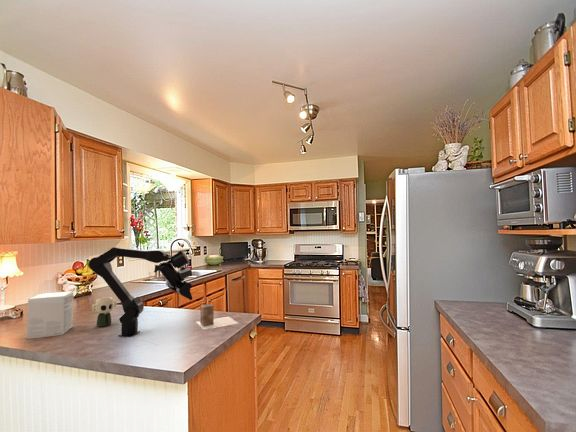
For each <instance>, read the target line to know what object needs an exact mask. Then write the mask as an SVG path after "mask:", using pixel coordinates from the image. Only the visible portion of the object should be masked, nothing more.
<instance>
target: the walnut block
mask: <svg viewBox="0 0 576 432" xmlns="http://www.w3.org/2000/svg"><path fill="white" fill-rule="evenodd" d="M214 309H215V308H214V305H213V304H212V303H208V304H201V305H200V316H199V317H200V320H199V321H200V324H201V325H202V326H203V327H204V326H210V325H214V319H215V317H214V315H215V314H214V313H215V312H214Z"/></svg>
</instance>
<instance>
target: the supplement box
mask: <svg viewBox="0 0 576 432" xmlns="http://www.w3.org/2000/svg"><path fill="white" fill-rule="evenodd" d="M73 307H74V290H72V291H71V290H70V291H59V292H46V293H45V292H44V293H39V294H37V295H34V296H32V297H30V298H27V318H26V319H27V320H26V322H27V323H26V338H25V339H26V340H30V339H31V340H32V339H40V338H47V337H55V336H56V337H57V336H58V337H59V336H63V335H64V334H65V333H67V332H68V331H69V330H70V329H71V328H73V316H74V315H73V314H74V313H73V312H74V311H73V310H74V308H73Z"/></svg>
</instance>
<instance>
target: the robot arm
mask: <svg viewBox="0 0 576 432" xmlns="http://www.w3.org/2000/svg"><path fill="white" fill-rule="evenodd" d="M118 257H123V258H132V259H139V260H141V259H142V260H144V261H145V260H146V261H148V262H150V263H154V264H155V265H154V269H153V272H154V273H157V272H160V274H161V275H162V276H163V279H164V280H165V281H166V282H165V285H166V286H167V288H169V289H170V290H173V291H174V292H176V293H177V294H179V295H180V296H182V297H183V298H186V299H188V300H189V301H192V300H193V295H192V293H191V289H192V287H193V284H192V283H191V282H190V281H188V280H185V279H187V278H188V277H192V276H193V272H192V269H191V268H189V267H186V268H185V266H186V265H188V264H189V263H190V259H189V258H188V256H187V255H186V254H185V253H184V251H183V250H180V251H178V252H176V253H175V254H173V255H171V254H167V252H166V251H165V250H163V249H155V250H154V249H153V250H152V249H151V250H150V249H149V250H142V249H135V248H134V249H133V248H125V247H120V246H115V247H112V248H110V249H109V250H106V251H105V252H104V253H102V254H100V255H98V256H97V257H92V258H91V259H89V261H88V266H87V267H88V268H89V269H90V270H91V271H92V272H93V273H94V274H96V275H98V276H100V277H101V278H102V279H103V281H104V282H105V283H106V284H107V286H108V287H109V288H110V289H111V291H112V292H113V294H114V295H115V296H116V297H117V299H118V300H119V302H120V303H121V307H122V309H123V310H122V311H123V313H124V314H122V315H121V316H120V317H119V319H118V320H119V323H120V324H121V329H120V330H121V333H119V334H117V336H118V337H133V336H135V335H137V334H139V333H141V330H138V329H139V328H138V326H139V320H138V318H139V316H140V314H142V313H143V311H144V307H145V306H144V302H143V301H142V300H141V299H140V297H139V296H136V297H134V296H133V295H131V294H130V292H129V291H128V290H127V288H126V287H125V286H124V284H123V283H122V281H121V280H120V278H118V277H117V275H116V274H115V273H114V271H113V267H112V264H111V262H113V261H114V260H116V258H118ZM176 268H177V269H179V270H176Z"/></svg>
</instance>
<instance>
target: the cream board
mask: <svg viewBox="0 0 576 432" xmlns="http://www.w3.org/2000/svg"><path fill="white" fill-rule="evenodd" d="M196 324H197V325H198V326H199V327H200V328H201V329H202V330H203V331H204V330H210V329H215V328H220V327H225V326H227V327H228V326H232V325H236V324H239V322H237V321H236V320H235V319H233V318H232V317H230V316H224V317H218V318H214V325H210V326H204V327H203V326H202V325H201V324H200V320H199V321H196Z"/></svg>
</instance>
